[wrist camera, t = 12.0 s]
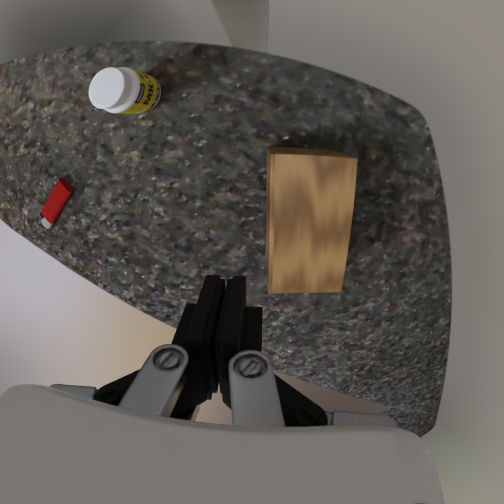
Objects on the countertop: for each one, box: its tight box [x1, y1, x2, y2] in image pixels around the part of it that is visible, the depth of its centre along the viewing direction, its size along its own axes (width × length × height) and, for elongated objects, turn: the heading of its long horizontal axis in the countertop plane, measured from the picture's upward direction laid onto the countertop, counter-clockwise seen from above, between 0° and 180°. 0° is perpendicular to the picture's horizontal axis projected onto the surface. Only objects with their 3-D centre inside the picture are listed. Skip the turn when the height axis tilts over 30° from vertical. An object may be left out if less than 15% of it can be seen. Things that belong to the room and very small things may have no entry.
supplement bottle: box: [89, 67, 161, 114], centre depth 22 cm, size 5×5×8 cm
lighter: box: [40, 178, 73, 229], centre depth 32 cm, size 3×1×8 cm
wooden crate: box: [266, 147, 357, 293], centre depth 28 cm, size 13×8×7 cm
